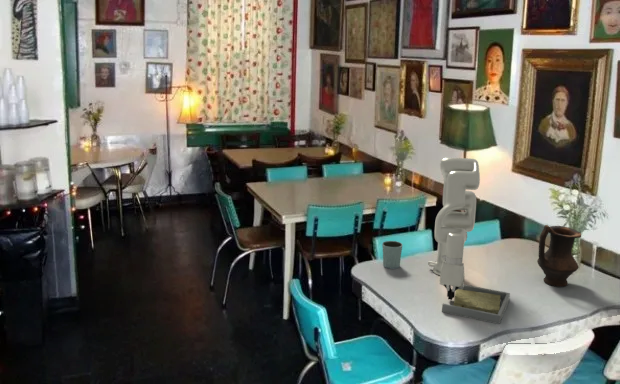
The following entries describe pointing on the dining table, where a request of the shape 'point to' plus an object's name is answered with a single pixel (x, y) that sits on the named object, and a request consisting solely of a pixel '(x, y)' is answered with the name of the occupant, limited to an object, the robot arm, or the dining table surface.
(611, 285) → the dining table surface
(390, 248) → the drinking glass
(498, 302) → the decorative tile
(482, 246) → the dining table surface
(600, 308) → the dining table surface
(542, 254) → the jug
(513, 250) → the dining table surface
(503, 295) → the box
